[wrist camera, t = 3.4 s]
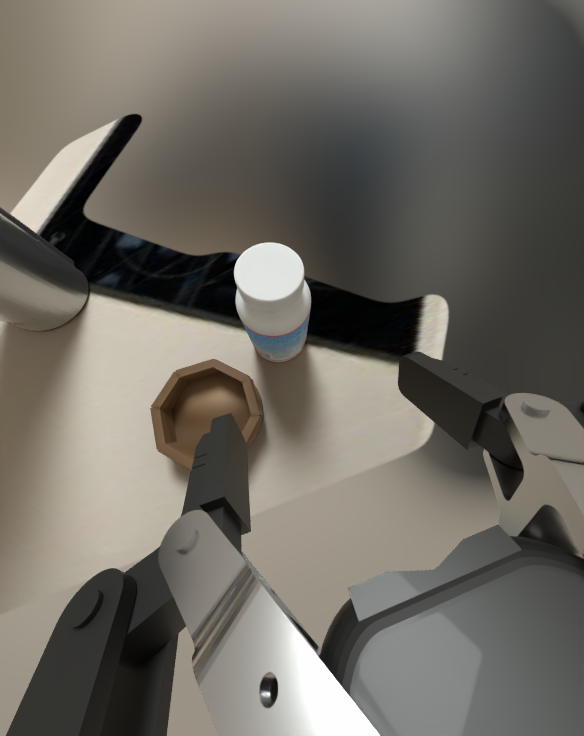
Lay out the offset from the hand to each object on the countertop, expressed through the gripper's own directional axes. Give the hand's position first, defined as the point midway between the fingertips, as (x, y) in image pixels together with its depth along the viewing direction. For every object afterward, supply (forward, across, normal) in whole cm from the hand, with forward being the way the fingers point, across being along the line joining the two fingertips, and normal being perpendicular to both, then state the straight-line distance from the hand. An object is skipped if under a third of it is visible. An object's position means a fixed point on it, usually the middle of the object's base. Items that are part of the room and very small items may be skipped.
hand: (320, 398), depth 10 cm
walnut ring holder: (+11, +9, +7) cm, 16 cm away
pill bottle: (+16, 0, +3) cm, 16 cm away
